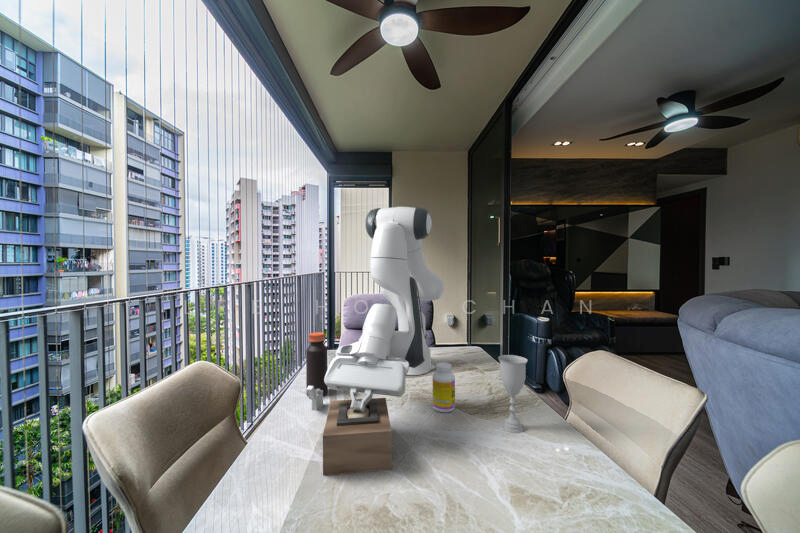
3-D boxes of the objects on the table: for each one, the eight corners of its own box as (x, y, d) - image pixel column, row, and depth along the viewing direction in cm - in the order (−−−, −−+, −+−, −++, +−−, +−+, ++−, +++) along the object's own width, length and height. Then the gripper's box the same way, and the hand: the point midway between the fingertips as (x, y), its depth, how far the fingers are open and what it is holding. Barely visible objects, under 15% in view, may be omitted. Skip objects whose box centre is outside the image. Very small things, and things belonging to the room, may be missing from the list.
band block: (331, 432, 77) (330, 398, 77) (385, 428, 79) (385, 395, 79) (322, 475, 62) (322, 432, 62) (391, 469, 63) (391, 428, 63)
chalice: (497, 431, 77) (497, 361, 77) (498, 418, 84) (498, 353, 84) (528, 437, 75) (528, 364, 75) (527, 423, 81) (527, 356, 81)
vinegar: (326, 388, 105) (326, 330, 105) (328, 396, 98) (328, 335, 98) (306, 391, 103) (305, 332, 102) (306, 399, 96) (306, 336, 96)
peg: (347, 440, 73) (347, 407, 72) (368, 438, 73) (368, 405, 73) (346, 453, 68) (346, 417, 68) (369, 451, 68) (369, 416, 68)
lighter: (318, 403, 93) (317, 378, 93) (323, 404, 93) (323, 378, 93) (306, 415, 86) (306, 387, 86) (311, 415, 86) (311, 387, 86)
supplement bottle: (454, 414, 86) (454, 369, 86) (431, 412, 88) (431, 368, 88) (455, 403, 93) (455, 362, 93) (433, 402, 94) (433, 360, 94)
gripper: (412, 364, 78) (403, 420, 69) (340, 358, 84) (322, 410, 74) (408, 352, 74) (397, 410, 65) (332, 346, 79) (312, 399, 70)
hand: (356, 410), depth 70 cm, fingers closed, pressing on peg
